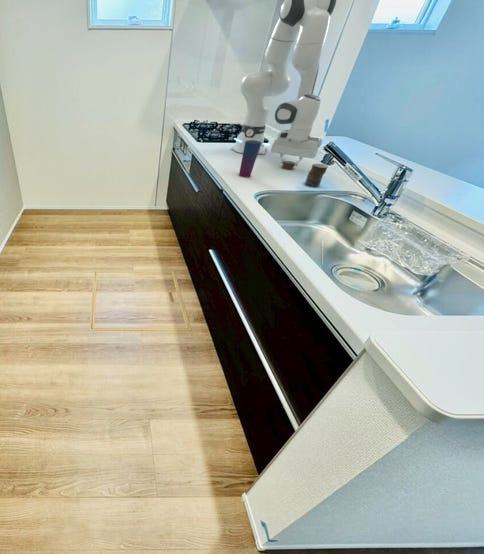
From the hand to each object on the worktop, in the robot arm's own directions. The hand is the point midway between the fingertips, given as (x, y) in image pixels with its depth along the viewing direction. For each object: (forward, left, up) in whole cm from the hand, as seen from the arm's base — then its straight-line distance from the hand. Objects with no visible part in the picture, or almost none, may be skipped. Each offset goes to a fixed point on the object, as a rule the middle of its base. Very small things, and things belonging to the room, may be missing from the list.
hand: (288, 164), depth 150 cm
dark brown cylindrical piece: (+20, +14, -2) cm, 24 cm away
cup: (+25, -14, -2) cm, 29 cm away
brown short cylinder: (0, 0, -2) cm, 2 cm away
